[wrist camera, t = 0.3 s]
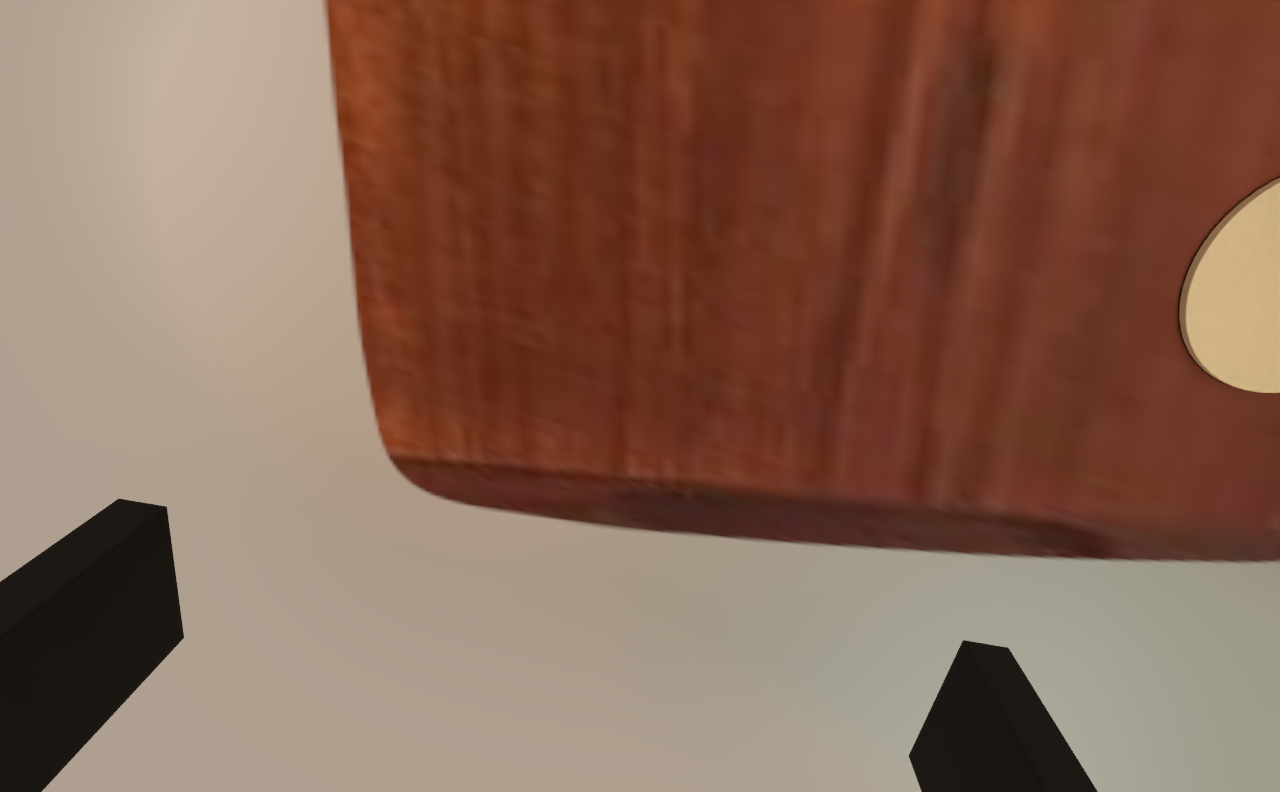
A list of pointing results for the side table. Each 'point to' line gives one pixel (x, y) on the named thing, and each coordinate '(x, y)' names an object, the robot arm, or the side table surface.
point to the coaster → (1238, 296)
